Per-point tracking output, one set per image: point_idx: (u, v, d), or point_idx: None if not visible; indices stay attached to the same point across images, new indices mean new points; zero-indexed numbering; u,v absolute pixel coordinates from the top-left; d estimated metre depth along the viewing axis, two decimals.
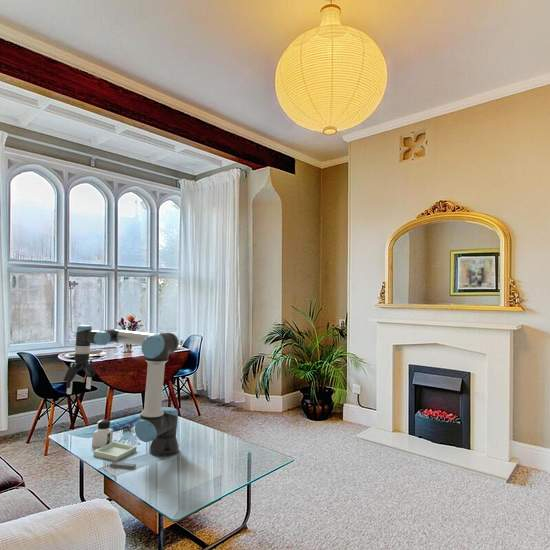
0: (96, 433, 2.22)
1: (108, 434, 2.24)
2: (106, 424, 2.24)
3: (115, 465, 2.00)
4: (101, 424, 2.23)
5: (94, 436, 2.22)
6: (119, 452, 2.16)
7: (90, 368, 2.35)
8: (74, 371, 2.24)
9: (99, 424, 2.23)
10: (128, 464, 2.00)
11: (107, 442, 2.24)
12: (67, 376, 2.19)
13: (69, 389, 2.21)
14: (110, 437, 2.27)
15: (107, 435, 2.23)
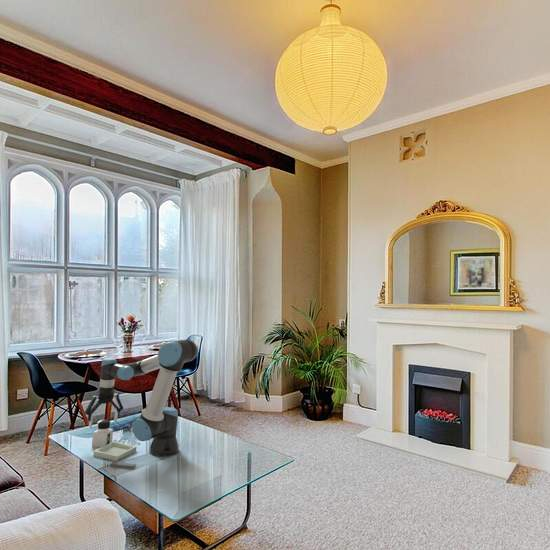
0: (96, 433, 2.22)
1: (108, 434, 2.24)
2: (106, 424, 2.24)
3: (115, 465, 2.00)
4: (101, 424, 2.23)
5: (94, 436, 2.22)
6: (119, 452, 2.16)
7: (118, 402, 2.31)
8: (96, 404, 2.23)
9: (99, 424, 2.23)
10: (128, 464, 2.00)
11: (107, 442, 2.24)
12: (87, 409, 2.20)
13: (90, 422, 2.21)
14: (110, 437, 2.27)
15: (107, 435, 2.23)
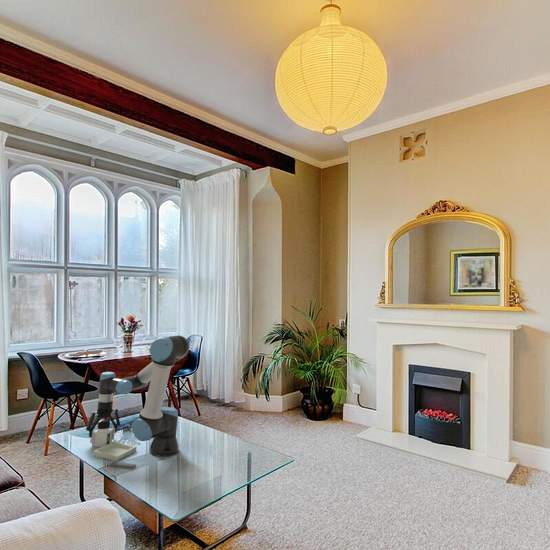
0: (96, 433, 2.22)
1: (108, 434, 2.24)
2: (106, 424, 2.24)
3: (115, 465, 2.00)
4: (101, 424, 2.23)
5: (94, 436, 2.22)
6: (119, 452, 2.16)
7: (115, 417, 2.30)
8: (96, 420, 2.23)
9: (99, 424, 2.23)
10: (128, 464, 2.00)
11: (107, 442, 2.24)
12: (88, 425, 2.21)
13: (91, 438, 2.22)
14: (110, 437, 2.27)
15: (107, 435, 2.23)
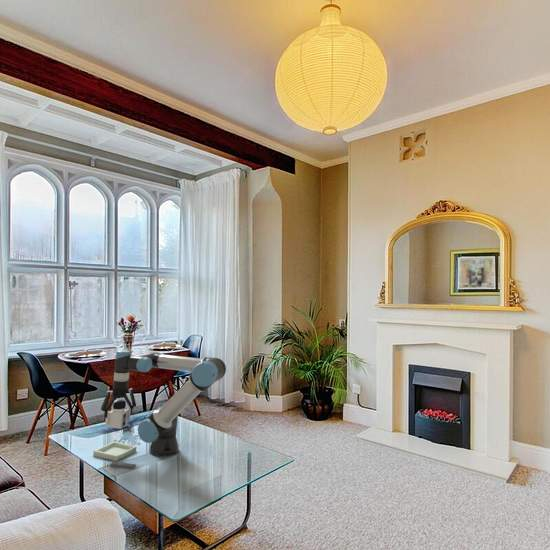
0: (111, 413, 2.13)
1: (124, 414, 2.15)
2: (122, 404, 2.14)
3: (115, 465, 2.00)
4: (117, 404, 2.13)
5: (109, 416, 2.13)
6: (119, 452, 2.16)
7: (131, 398, 2.21)
8: (111, 399, 2.14)
9: (114, 404, 2.14)
10: (128, 464, 2.00)
11: (123, 423, 2.14)
12: (103, 405, 2.11)
13: (106, 419, 2.12)
14: (126, 418, 2.17)
15: (123, 415, 2.14)
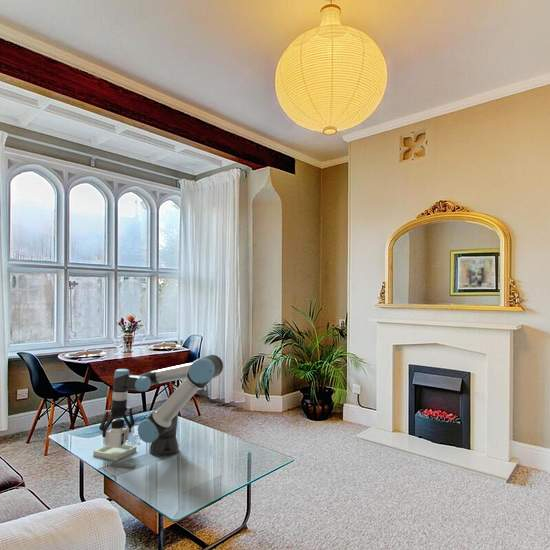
0: (110, 433, 2.12)
1: (122, 434, 2.14)
2: (120, 423, 2.14)
3: (115, 465, 2.00)
4: (115, 423, 2.13)
5: (108, 436, 2.12)
6: (119, 452, 2.16)
7: (130, 416, 2.20)
8: (110, 419, 2.13)
9: (113, 423, 2.13)
10: (128, 464, 2.00)
11: (121, 442, 2.14)
12: (101, 424, 2.10)
13: (105, 438, 2.12)
14: (124, 437, 2.17)
15: (121, 435, 2.13)
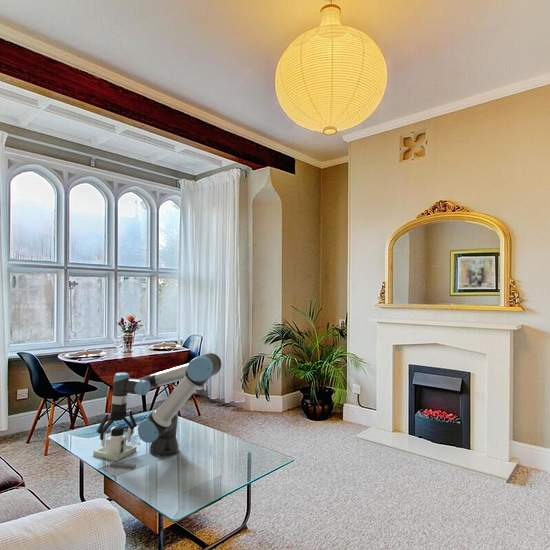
0: (109, 440, 2.12)
1: (122, 441, 2.14)
2: (120, 431, 2.14)
3: (115, 465, 2.00)
4: (114, 431, 2.13)
5: (107, 443, 2.12)
6: None
7: (131, 419, 2.21)
8: (109, 422, 2.13)
9: (112, 431, 2.13)
10: (128, 464, 2.00)
11: (121, 450, 2.14)
12: (99, 427, 2.10)
13: (102, 441, 2.11)
14: (124, 444, 2.17)
15: (121, 442, 2.13)
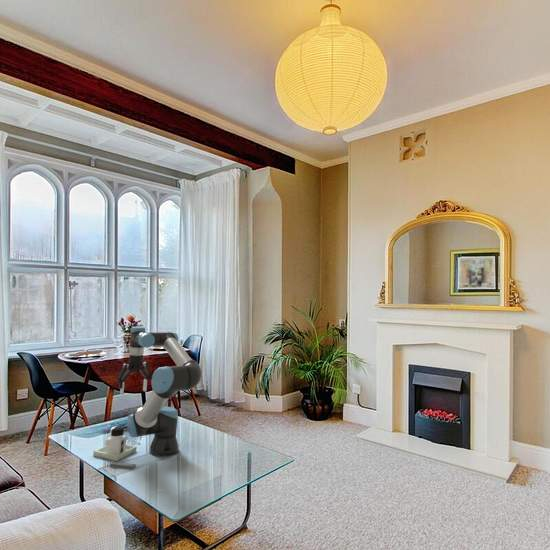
0: (109, 440, 2.12)
1: (122, 441, 2.14)
2: (120, 431, 2.14)
3: (115, 465, 2.00)
4: (114, 431, 2.13)
5: (107, 443, 2.12)
6: None
7: (146, 370, 2.34)
8: (127, 372, 2.26)
9: (112, 431, 2.13)
10: (128, 464, 2.00)
11: (121, 450, 2.14)
12: (119, 376, 2.22)
13: (121, 389, 2.24)
14: (124, 444, 2.17)
15: (121, 442, 2.13)
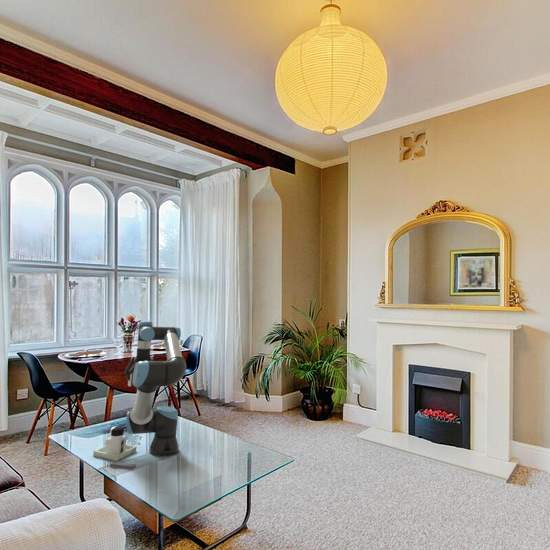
0: (109, 440, 2.12)
1: (122, 441, 2.14)
2: (120, 431, 2.14)
3: (115, 465, 2.00)
4: (114, 431, 2.13)
5: (107, 443, 2.12)
6: None
7: None
8: (134, 364, 2.33)
9: (112, 431, 2.13)
10: (128, 464, 2.00)
11: (121, 450, 2.14)
12: (126, 368, 2.30)
13: (129, 381, 2.31)
14: (124, 444, 2.17)
15: (121, 442, 2.13)
